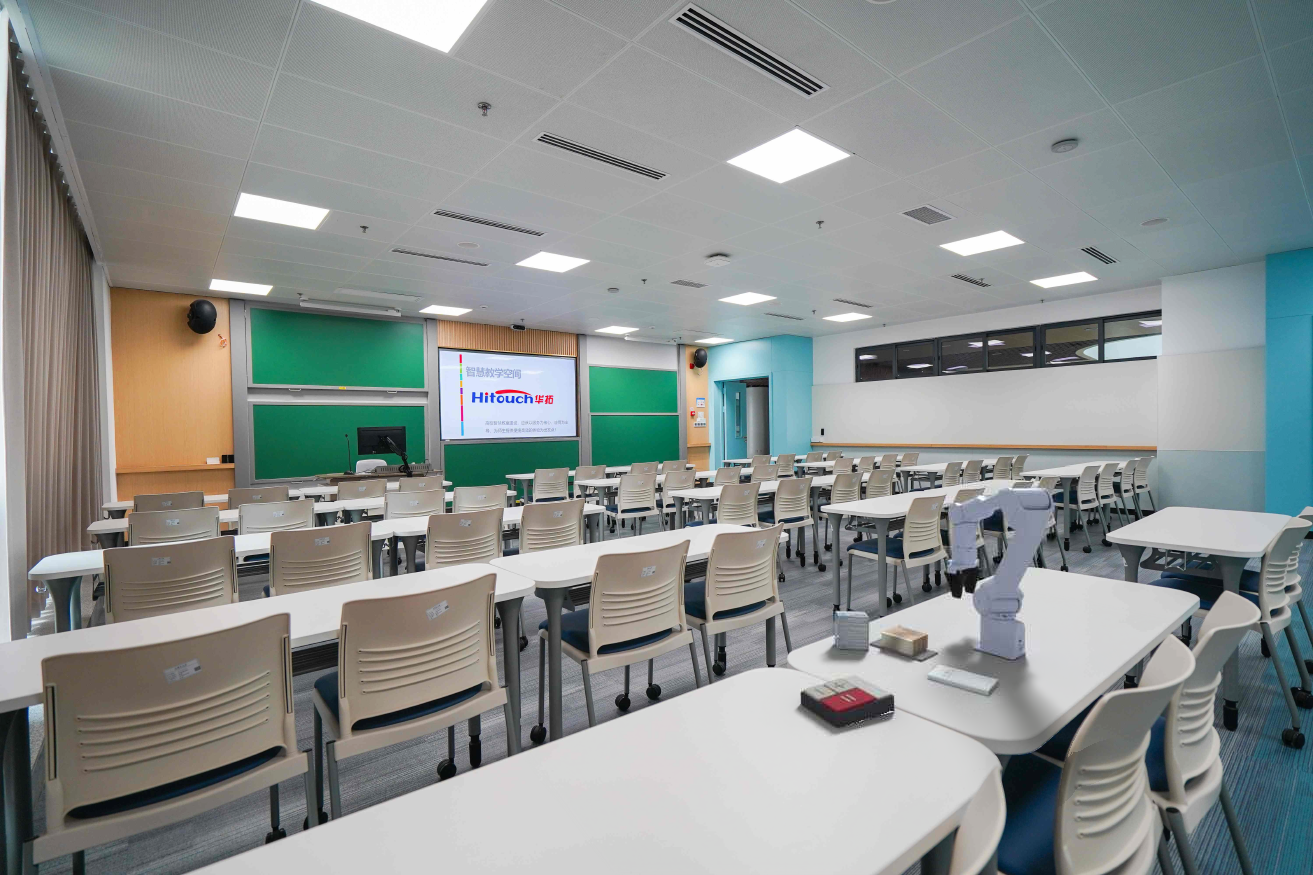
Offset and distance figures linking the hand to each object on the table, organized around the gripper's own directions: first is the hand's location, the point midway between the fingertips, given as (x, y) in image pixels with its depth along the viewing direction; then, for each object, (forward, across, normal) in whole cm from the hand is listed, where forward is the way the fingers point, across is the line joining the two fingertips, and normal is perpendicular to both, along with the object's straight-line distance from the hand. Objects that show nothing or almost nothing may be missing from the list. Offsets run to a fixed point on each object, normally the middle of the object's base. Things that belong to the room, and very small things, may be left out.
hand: (963, 595), depth 165 cm
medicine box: (+10, +35, -12) cm, 38 cm away
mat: (+10, +26, -3) cm, 28 cm away
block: (+8, +21, -3) cm, 23 cm away
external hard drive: (+11, +33, +15) cm, 38 cm away
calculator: (+11, +65, +7) cm, 66 cm away
